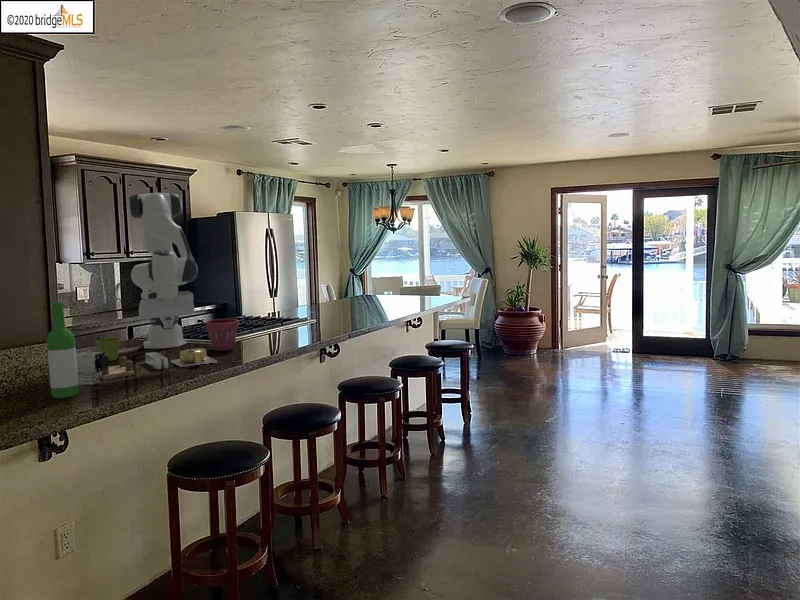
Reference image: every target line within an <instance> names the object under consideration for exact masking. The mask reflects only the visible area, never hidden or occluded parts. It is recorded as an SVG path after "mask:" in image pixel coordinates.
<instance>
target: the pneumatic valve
mask: <svg viewBox="0 0 800 600" xmlns="http://www.w3.org/2000/svg"><path fill="white" fill-rule="evenodd" d="M76 360H77V371H78V373H83V375H82V378H81V382H82V384H83V385H84V386H94V385H96V384H99V383H100V380H101V377H100V376H99V375H98V374H97V373H96V372H101V371H103V370H106V368H107V367H108V366H109V365H110V360H109V358H108V357H107V356H106V355H105V352H100V351H91V349H87V350H86V351H79V352H76Z"/></svg>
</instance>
